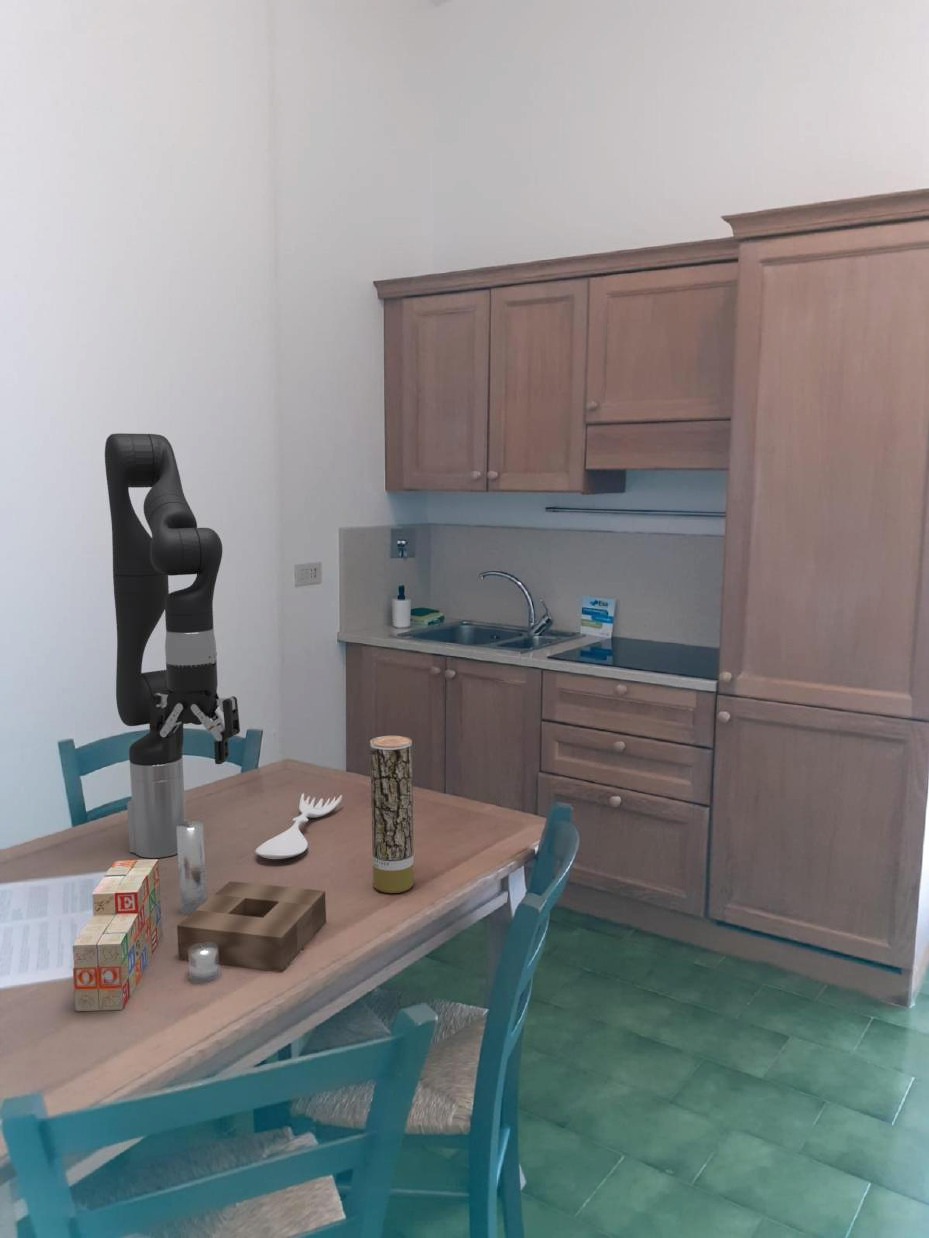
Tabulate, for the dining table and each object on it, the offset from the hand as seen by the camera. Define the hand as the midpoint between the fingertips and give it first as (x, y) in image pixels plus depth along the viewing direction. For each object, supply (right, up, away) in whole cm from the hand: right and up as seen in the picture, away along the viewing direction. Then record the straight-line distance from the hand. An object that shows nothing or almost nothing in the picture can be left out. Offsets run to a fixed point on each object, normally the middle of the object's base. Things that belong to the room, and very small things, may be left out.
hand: (196, 760), depth 156 cm
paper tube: (+30, -23, +11) cm, 39 cm away
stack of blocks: (-6, -27, -16) cm, 32 cm away
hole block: (+11, -25, -7) cm, 29 cm away
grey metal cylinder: (+6, -27, -18) cm, 33 cm away
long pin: (-1, -24, +3) cm, 24 cm away
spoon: (+10, -20, +36) cm, 42 cm away
